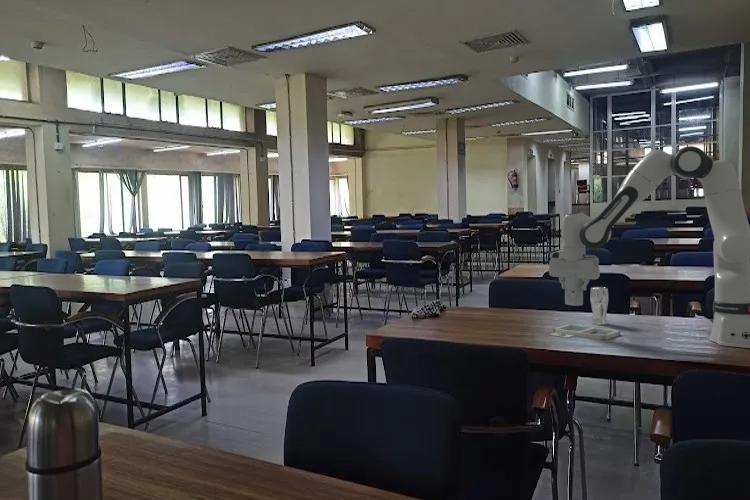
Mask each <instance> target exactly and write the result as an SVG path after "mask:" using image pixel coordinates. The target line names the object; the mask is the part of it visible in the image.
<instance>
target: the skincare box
mask: <svg viewBox="0 0 750 500" xmlns="http://www.w3.org/2000/svg"><path fill="white" fill-rule="evenodd" d="M564 282H565V289H564V304H565V305H568V306H574V307H579V306H583V305H584V291H583V290H581V286H583V284H584V282H583V279H579V278H577V275H570V277H569V278H565V280H564Z"/></svg>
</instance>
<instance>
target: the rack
mask: <svg viewBox="0 0 750 500" xmlns="http://www.w3.org/2000/svg"><path fill="white" fill-rule="evenodd" d="M594 333H595V334H594ZM596 333H599V334H596ZM549 336H553V337H559V338H567V339H570V338H573V337H578V338H585V339H591V340H592V339H593V340H599V341H606V340H609V339H612V338H615V337H618V336H621V330H617V329H616V330H614V329H608V328H603V327H602V328H600V327H592V326H586V325H580V324H572V323H570V324H566V325H561V326H558V327H554V328H552V333H550V334H549Z"/></svg>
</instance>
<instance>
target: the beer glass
mask: <svg viewBox="0 0 750 500" xmlns="http://www.w3.org/2000/svg"><path fill="white" fill-rule="evenodd" d="M589 295H590V305H591V311H592V320H591V324H592V325H595V326H608V320H607V310H608V305H609V289H608V287H604V286H593V287H590V294H589Z"/></svg>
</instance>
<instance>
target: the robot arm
mask: <svg viewBox="0 0 750 500" xmlns="http://www.w3.org/2000/svg"><path fill="white" fill-rule="evenodd" d="M669 176H674V177H677V178H680V179H685V180H690V179H691V180H692V179H697V180H698V181H699V182H700V184H701V186H702V190H703V195H704V199H705V200H704V201H705V205H706V206H705V207H706V210H707V214H708V220H709V222H710V226H711V230H712V235H713V239H714V240H713V244H712V245H713V246H712V247H713V250H712V251H713V271H714V273H713V274H714V299H713V302H712V316H713V322H712V329H711V332H710V335H709V338H708V340H709V341H711V342H714V343H717V345H720V346H725V347H734V348H744V349H750V223H749V221H748V216H747V214H746V208H745V205H744V200H743V195H742V191H741V190H742V189H741V185H740V182H739V178H738V175H737V173H736V170H735V168H734V165H733V164H732V163H731V162H730V161H727V160H723V159H719V160H718V159H716V160H713V159H712V158H711V157H709V156H708V154H707V153H706V152H705V151H704V150H703V149H701V148H700V147H697V146H692V145H691V146H684V147H682V148H680V149H678V150H677V151H676V152H675V153H672V154H669V153H667V152H666V151H664V150H661V149H653V150H650V151H649V152H648V153H646V155H644V156H643V157H642V158H641V159H640V160H639V161H638V162H637V163H636V164H635V165H634V167H632V169H631V170H630V171H629V172H628V173H627V175H626V177H625V178H624V179H623V181H622V183H621V184H620V186H619V189H618V191H617V192H616V194H615V196H614V197H613V198H612V200H611V201H610V202H609V203H608V205H606V207H605V208H604V209H603V210H602V211H601V213H600V214H599V215H597V217H595V218H593V217H591V216H588V215H586V214H585V213H584V212H582V211H577V212H571V213H567V214H566V215H564V217H563V218H562V220H561V233H560V234H561V235H560V236H561V239H562V241H561V249H560V250H557V251H554V252H551V253H550V254H549V257H550V260H549V261H548V262H549V263H548V274H549V276H550V277H555V278H558V281H559V283H560V284H561V289H562V290H565V278H569V277H570V275H577V278H579V279H583V286H581V290H583V292H584V291H587V286H588V284H589V283H590V280H594V281H595V280H598V279H599V278H600V276H601V274H600V273H601V272H600V265H599V263H600V260H599V257H598V256H596V255H595V254H586V247H587V248H588V249H592V250H595V249H601V248H602V247H603V246H605V245H606V243H608V241H609V240H610V239H611V237H612V229H613V228H614V226H615V225H616V224H617V222H619V220H620V219H621V218H622V217H623V216H624V215H625V214H626V212H627V211H628V210H630V209H631V208H633V206H635V205H638V204H639V203H641V202H643V201H644V200H646V199H647V198H648V197H649V196H650V195H651V194H652V193H654V192H655V190H656V189H657V188H658V187H659V186H660V185H661V184H662V182H663V181H664V180H666V178H668V177H669Z"/></svg>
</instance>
